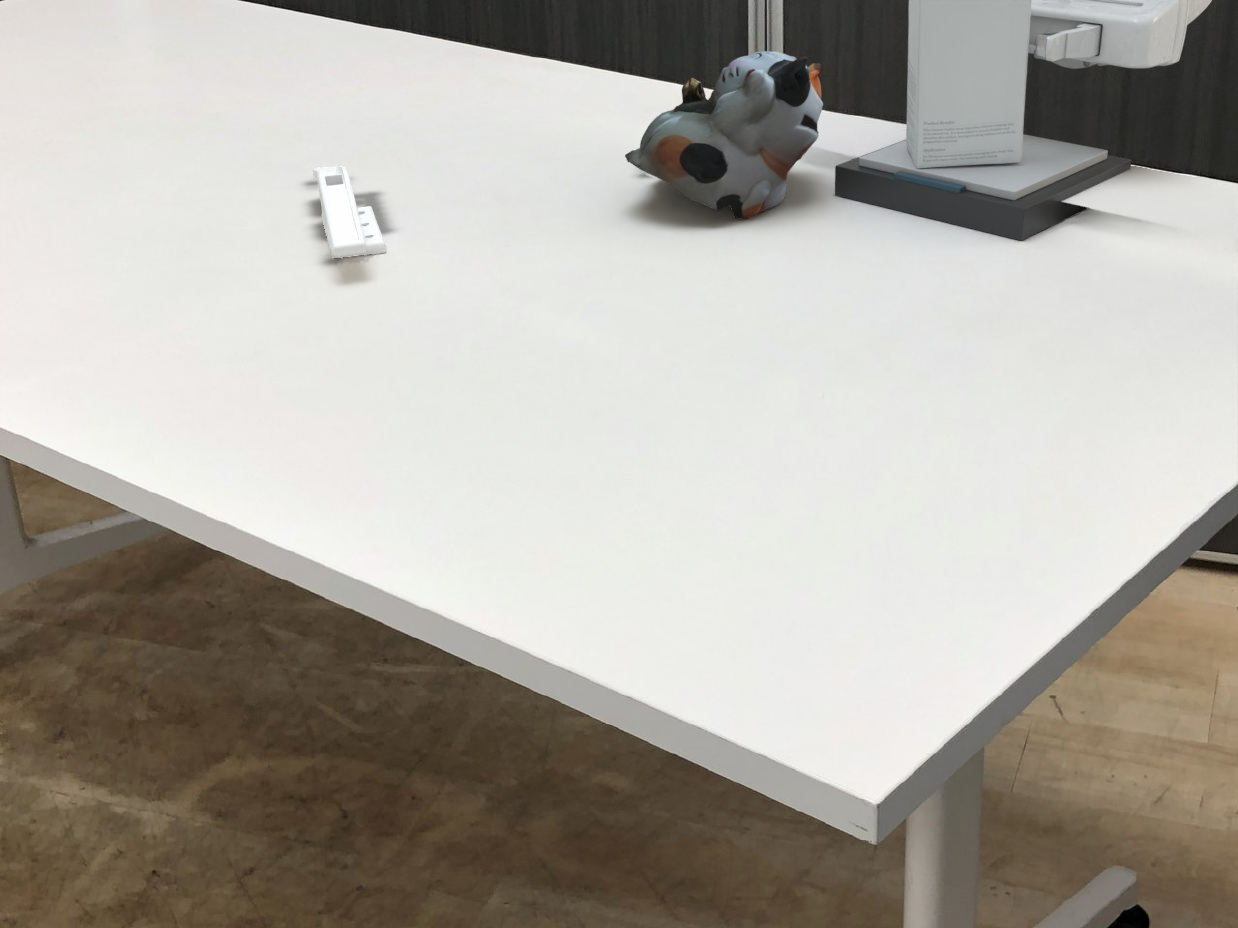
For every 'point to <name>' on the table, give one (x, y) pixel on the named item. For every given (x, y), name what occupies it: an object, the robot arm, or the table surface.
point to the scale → (982, 186)
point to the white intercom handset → (346, 216)
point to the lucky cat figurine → (737, 134)
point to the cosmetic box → (966, 81)
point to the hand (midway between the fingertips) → (986, 41)
